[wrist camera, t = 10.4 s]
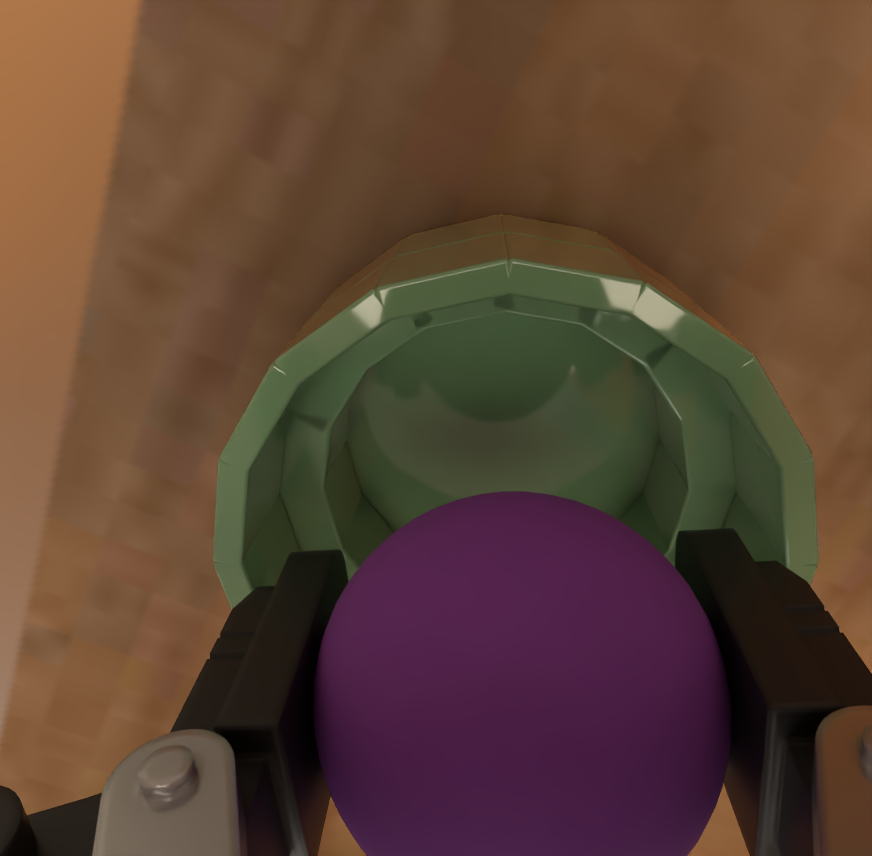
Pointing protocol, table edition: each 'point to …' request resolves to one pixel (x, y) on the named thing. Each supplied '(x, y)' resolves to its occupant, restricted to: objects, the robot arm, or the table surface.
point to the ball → (521, 689)
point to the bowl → (509, 406)
